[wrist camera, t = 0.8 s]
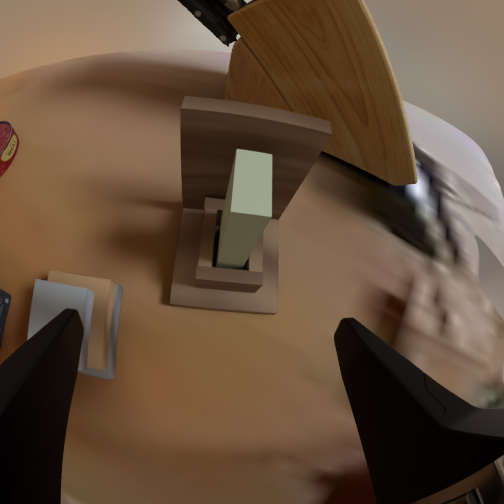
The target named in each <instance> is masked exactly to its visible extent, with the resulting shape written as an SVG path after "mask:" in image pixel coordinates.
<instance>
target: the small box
mask: <svg viewBox="0 0 504 504" xmlns="http://www.w3.org/2000/svg"><path fill="white" fill-rule="evenodd" d="M10 301H11V296H10V295H9V294H8V293H6V292H5V291H3V290H2V289H0V347H1V340H2V335H3V330H4V325H5V321H6V317H7V313H8V309H9V305H10Z"/></svg>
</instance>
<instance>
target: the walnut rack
mask: <svg viewBox="0 0 504 504" xmlns="http://www.w3.org/2000/svg"><path fill="white" fill-rule="evenodd" d="M331 135H332V130H331V125H330V121H326V120H323V119H319V118H315V117H311V116H307V115H303V114H299V113H295V112H290V111H286V110H281V109H276V108H271V107H266V106H260V105H255V104H249V103H243V102H236V101H229V100H221V99H213V98H203V97H192V96H185V97H184V100H183V103H182V106H181V176H182V199H183V211H182V217H181V223H180V229H179V235H178V242H177V249H176V256H175V263H174V270H173V278H172V287H171V295H170V305H171V306H178V307H187V308H197V309H207V310H218V311H229V312H242V313H256V314H273V315H274V314H276V313H277V300H278V227H279V218H280V217H281V215H282V213H283V212H284V210H285V209H286V207H287V205H288V204H289V202H290V201H291V199H292V198H293V196H294V194H295V193H296V191H297V190H298V188H299V186H300V185H301V183H302V182H303V180H304V179H305V177H306V175H307V174H308V172H309V171H310V169H311V167H312V166H313V164H314V163H315V161H316V159H317V158H318V156H319V155H320V153H321V151H322V150H323V148H324V147H325V145H326V143H327V142H328V140H329V139H330V137H331ZM237 149H242V150H248V151H255V152H261V153H267V154H272V217H271V219H270V221H269V223H268V224H267V226H266V228H265V230H264V231H263V233H262V235H261V237H260V238H259V240H258V242H257V244H256V245H255V247H254V249H253V251H252V252H251V254H250V256H249V257H248V259H247V261H246V263H245V264H244V266H243V268H242V270H236V269H226V268H216V267H215V264H216V253H217V243H218V233H219V226H220V222H221V217H222V212H223V207H224V203H225V198H226V194H227V189H228V185H229V180H230V176H231V171H232V167H233V163H234V158H235V154H236V150H237Z"/></svg>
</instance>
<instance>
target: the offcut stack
mask: <svg viewBox="0 0 504 504" xmlns="http://www.w3.org/2000/svg"><path fill="white" fill-rule="evenodd" d="M122 292H123V287H121V286H120V285H119V284H116V283H114V282H112V281H111V280H108V279H101V278H94V277H88V276H82V275H75V274H69V273H63V272H58V271H52V270H49V275H48V280H47V281H44V280H40V279H36V280H35V286H34V291H33V297H32V304H31V311H30V318H29V327H28V338H27V340H28V339H30V338H31V337H32V336H33V335H34V334H35V333H37V332H38V331H39V330H40V329H41V328H42V327H44V326H45V325H46V324H47V323H48V322H50V321H51V320H52V319H53V318H55V317H56V316H57V315H58V314H59V313H61V312H62V311H63V310H64V309H66V308H71V309H76V310H77V311H78V312H79V315H80V318H81V321H82V324H83V327H84V335H83V341H82V347H81V353H80V360H79V367H78V373H81V374H85V375H89V376H94V377H98V378H102V379H107V380H111V379H114V378H115V361H116V346H117V334H118V324H119V315H120V307H121V299H122Z"/></svg>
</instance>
